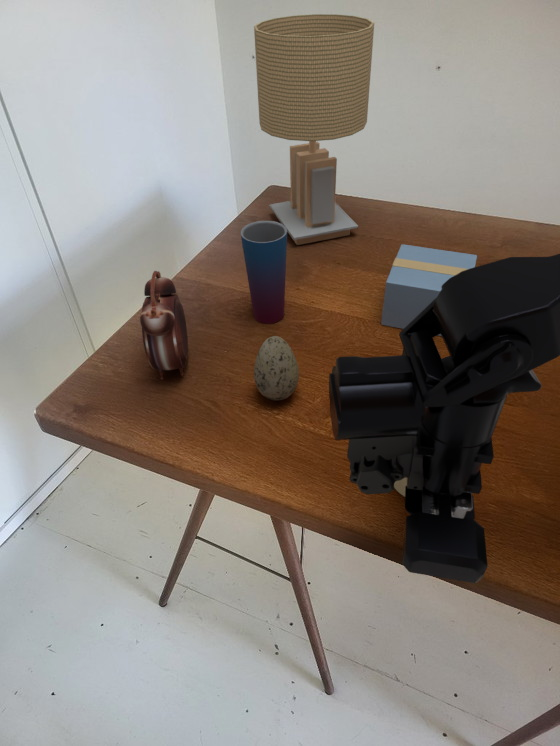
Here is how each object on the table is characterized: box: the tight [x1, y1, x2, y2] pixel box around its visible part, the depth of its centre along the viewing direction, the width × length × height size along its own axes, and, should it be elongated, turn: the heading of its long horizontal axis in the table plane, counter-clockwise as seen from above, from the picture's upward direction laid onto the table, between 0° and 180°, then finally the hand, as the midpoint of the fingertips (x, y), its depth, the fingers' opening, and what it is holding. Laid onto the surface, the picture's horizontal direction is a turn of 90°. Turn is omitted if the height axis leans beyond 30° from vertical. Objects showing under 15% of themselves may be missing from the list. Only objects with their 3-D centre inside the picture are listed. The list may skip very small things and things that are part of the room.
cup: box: [240, 220, 288, 325], centre depth 81 cm, size 7×7×15 cm
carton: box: [380, 243, 478, 337], centre depth 82 cm, size 12×12×8 cm
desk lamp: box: [253, 13, 375, 246], centre depth 96 cm, size 20×20×35 cm
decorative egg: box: [253, 335, 300, 401], centre depth 68 cm, size 6×6×10 cm
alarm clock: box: [139, 270, 189, 381], centre depth 72 cm, size 11×5×15 cm, turn 5°
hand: (427, 524), depth 53 cm, fingers closed
